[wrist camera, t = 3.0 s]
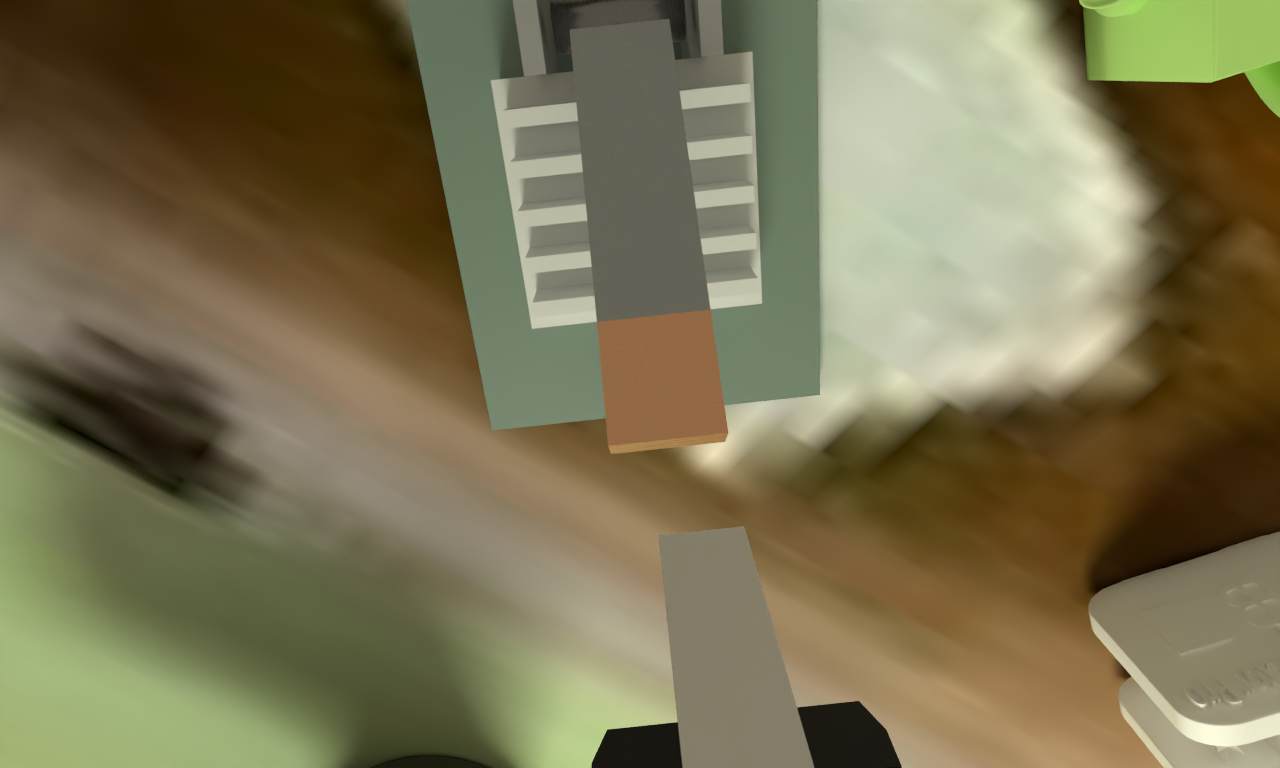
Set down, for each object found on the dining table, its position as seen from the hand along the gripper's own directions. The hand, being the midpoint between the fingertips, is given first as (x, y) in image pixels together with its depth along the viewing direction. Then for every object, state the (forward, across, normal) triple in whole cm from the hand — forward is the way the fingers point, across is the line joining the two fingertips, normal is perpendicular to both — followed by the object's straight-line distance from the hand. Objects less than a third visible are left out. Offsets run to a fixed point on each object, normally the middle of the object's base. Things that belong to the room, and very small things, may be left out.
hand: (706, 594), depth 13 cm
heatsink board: (+27, 0, +3) cm, 27 cm away
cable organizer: (+28, +34, -28) cm, 52 cm away
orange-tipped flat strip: (+16, 0, +4) cm, 16 cm away
